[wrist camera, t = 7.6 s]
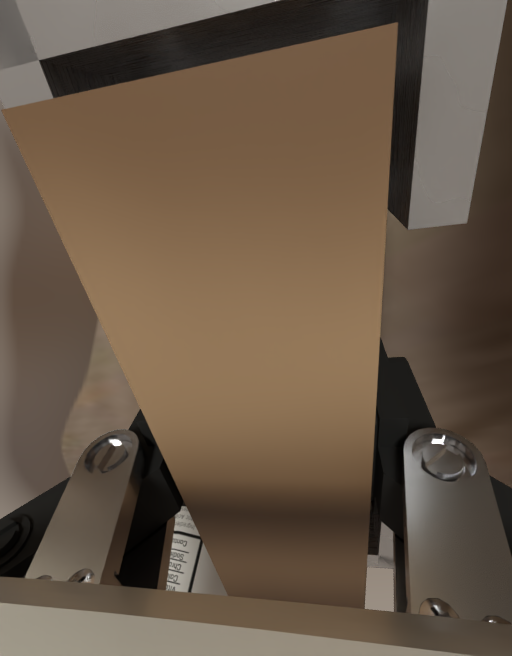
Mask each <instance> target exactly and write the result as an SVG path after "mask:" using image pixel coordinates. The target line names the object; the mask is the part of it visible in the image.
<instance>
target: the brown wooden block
mask: <svg viewBox="0 0 512 656" xmlns="http://www.w3.org/2000/svg"><path fill="white" fill-rule="evenodd" d="M397 31H398V22H396V23H392V24H387V25H383V26H378V27H374V28H369V29H365V30H360V31H356V32H351V33H347V34H342V35H338V36H333V37H328V38H324V39H319V40H315V41H310V42H306V43H301V44H297V45H292V46H288V47H283V48H279V49H274V50H270V51H265V52H261V53H256V54H252V55H247V56H243V57H238V58H233V59H229V60H224V61H220V62H215V63H211V64H206V65H202V66H197V67H193V68H188V69H184V70H179V71H175V72H170V73H166V74H161V75H157V76H152V77H148V78H143V79H139V80H134V81H129V82H125V83H120V84H116V85H111V86H107V87H102V88H98V89H93V90H89V91H84V92H80V93H75V94H71V95H66V96H62V97H57V98H53V99H48V100H44V101H39V102H35V103H30V104H25V105H21V106H16V107H12V108H7V109H3V110H2V113H3V115H4V117H5V119H6V121H7V124H8V126H9V128H10V130H11V132H12V134H13V137H14V138H15V141H16V143H17V145H18V147H19V149H20V151H21V154H22V156H23V158H24V160H25V162H26V164H27V167H28V169H29V171H30V173H31V175H32V177H33V179H34V181H35V184H36V186H37V187H38V190H39V192H40V194H41V196H42V199H43V201H44V203H45V205H46V207H47V209H48V211H49V214H50V216H51V218H52V220H53V222H54V224H55V226H56V228H57V231H58V233H59V235H60V237H61V239H62V241H63V243H64V246H65V248H66V250H67V252H68V254H69V256H70V258H71V261H72V263H73V265H74V267H75V269H76V271H77V274H78V276H79V277H80V280H81V282H82V284H83V286H84V288H85V290H86V293H87V295H88V297H89V299H90V301H91V303H92V305H93V308H94V310H95V312H96V314H97V316H98V318H99V321H100V323H101V325H102V327H103V329H104V331H105V333H106V336H107V338H108V340H109V342H110V344H111V346H112V348H113V351H114V353H115V355H116V357H117V359H118V361H119V363H120V366H121V368H122V370H123V372H124V374H125V376H126V378H127V381H128V383H129V385H130V387H131V389H132V391H133V393H134V396H135V398H136V400H137V402H138V404H139V406H140V408H141V411H142V413H143V415H144V417H145V419H146V421H147V423H148V426H149V428H150V430H151V432H152V434H153V436H154V438H155V440H156V443H157V445H158V447H159V449H160V451H161V453H162V455H163V458H164V460H165V462H166V464H167V466H168V468H169V470H170V473H171V475H172V477H173V479H174V481H175V483H176V485H177V488H178V490H179V492H180V494H181V496H182V498H183V500H184V503H185V505H186V507H187V509H188V511H189V513H190V515H191V518H192V520H193V522H194V524H195V526H196V528H197V530H198V533H199V535H200V537H201V539H202V541H203V543H204V545H205V548H206V550H207V552H208V554H209V556H210V558H211V560H212V562H213V565H214V567H215V569H216V571H217V573H218V575H219V577H220V580H221V582H222V584H223V586H224V588H225V590H226V592H227V595H228V596H234V597H244V598H255V599H266V600H276V601H287V602H298V603H308V604H318V605H328V606H339V607H349V608H359V609H365V608H364V607H365V590H366V574H367V573H366V572H367V556H368V539H369V521H370V504H371V486H372V469H373V451H374V434H375V416H376V399H377V381H378V364H379V346H380V329H381V311H382V294H383V276H384V259H385V241H386V224H387V206H388V189H389V171H390V154H391V136H392V119H393V101H394V84H395V66H396V49H397Z"/></svg>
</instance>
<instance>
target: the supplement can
mask: <svg viewBox="0 0 512 656" xmlns="http://www.w3.org/2000/svg"><path fill="white" fill-rule="evenodd" d="M166 590H169V591H179V592H190V593H201V594H212V595H223V596H228V595H227V592H226V590H225V588H224V586H223V584H222V582H221V580H220V577H219V575H218V573H217V571H216V569H215V567H214V565H213V562H212V560H211V558H210V556H209V554H208V552H207V550H206V548H205V545H204V543H203V541H202V539H201V537H200V535H199V533H198V530H197V528H196V526H195V524H194V522H193V520H192V518H191V515H190V513H189V511H188V509H187V507H185V506H182V508H181V511H180V512H179V513H177V514H176V515H175V526H174V534H173V541H172V549H171V556H170V563H169V571H168V578H167V585H166Z"/></svg>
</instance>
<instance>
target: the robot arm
mask: <svg viewBox="0 0 512 656" xmlns="http://www.w3.org/2000/svg"><path fill="white" fill-rule="evenodd" d="M371 503H372V509H373V514H378V515H379V519H380V521H381V522H383V523H384V524H385V525H386V526H387V527H388V528H389V529H391V530H392V531H393V566H394V612H389V611H379V610H369V609H359V608H349V607H339V606H328V605H318V604H308V603H298V602H287V601H276V600H266V599H255V598H244V597H234V596H223V595H212V594H201V593H190V592H179V591H169V590H166V585H167V578H168V571H169V563H170V556H171V549H172V541H173V534H174V526H175V515H176V514H177V513H179V512H180V511H181V508H182V506H185V507H186V505H185V503H184V500H183V498H182V496H181V494H180V492H179V490H178V488H177V485H176V483H175V481H174V479H173V477H172V475H171V473H170V470H169V468H168V466H167V464H166V462H165V460H164V458H163V455H162V453H161V451H160V449H159V447H158V445H157V443H156V440H155V438H154V436H153V434H152V432H151V430H150V428H149V426H148V423H147V421H146V419H145V417H144V415H143V413H142V411H141V409H140V410H139V412H138V414H137V416H136V417H135V419H134V421H133V423H132V424H131V426H130V428H129V430H126V429H120V430H114V431H111V432H108V433H106V434H104V435H102V436H100V437H98V438H97V439H96V440H94V441H93V442H91V443H90V444H89V446H88V447H87V448H86V449H85V450H84V451H83V453H82V455H81V456H80V458H79V460H78V462H77V464H76V467H75V469H74V471H73V473H72V475H71V477H69V478H67V479H66V480H64V481H62V482H61V483H59V484H58V485H56V486H54V487H53V488H51V489H49V490H48V491H46V492H45V493H43V494H41V495H39V496H38V497H36V498H35V499H33V500H31V501H29V502H28V503H26V504H24V505H23V506H21V507H20V508H18V509H16V510H15V511H13V512H12V513H10V514H8V515H6V516H5V517H3V518H2V519H0V656H512V488H510V487H508V486H507V485H505V484H503V483H502V482H500V481H498V480H496V479H495V478H493V477H491V476H490V475H489V473H488V469H487V466H486V462H485V460H484V458H483V456H482V454H481V452H480V451H479V450H478V449H477V448H476V447H475V446H474V444H473V443H471V442H470V441H468V440H467V439H466V438H464V437H463V436H461V435H459V434H456V433H454V432H452V431H449V430H445V429H441V428H436V426H435V424H434V421H433V419H432V417H431V414H430V412H429V410H428V408H427V405H426V403H425V401H424V398H423V396H422V394H421V391H420V389H419V387H418V384H417V382H416V380H415V377H414V375H413V373H412V370H411V368H410V366H409V363H408V361H407V360H406V358H405V357H393V358H388V357H387V354H386V352H385V349H384V346H383V343H382V340H381V337H380V346H379V364H378V381H377V399H376V416H375V434H374V451H373V469H372V486H371Z"/></svg>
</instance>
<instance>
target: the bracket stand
mask: <svg viewBox="0 0 512 656" xmlns="http://www.w3.org/2000/svg"><path fill="white" fill-rule="evenodd" d="M506 5H507V0H0V99H1V101H2V104H3V106H4V108H5V109H7V108H12V107H16V106H21V105H25V104H30V103H35V102H39V101H44V100H48V99H53V98H57V97H62V96H66V95H71V94H75V93H80V92H84V91H89V90H93V89H98V88H102V87H107V86H111V85H116V84H120V83H125V82H129V81H134V80H139V79H143V78H148V77H152V76H157V75H161V74H166V73H170V72H175V71H179V70H184V69H188V68H193V67H197V66H202V65H206V64H211V63H215V62H220V61H224V60H229V59H233V58H238V57H243V56H247V55H252V54H256V53H261V52H265V51H270V50H274V49H279V48H283V47H288V46H292V45H297V44H301V43H306V42H310V41H315V40H319V39H324V38H328V37H333V36H338V35H342V34H347V33H351V32H356V31H360V30H365V29H369V28H374V27H378V26H383V25H387V24H392V23H396V22H398V31H397V49H396V66H395V84H394V101H393V119H392V136H391V154H390V171H389V189H388V206H387V209H388V210H389V211H390V212H391V213H392V214H393V215H394V216H395V217H396V218H397V219H398V220H399V221H400V222H401V223H402V224H403V225H404V226H405V227H406V228H407V229H408V230H410V229H419V228H428V227H437V226H446V225H455V224H464V223H467V220H468V215H469V209H470V204H471V198H472V193H473V187H474V182H475V176H476V171H477V165H478V160H479V154H480V149H481V143H482V137H483V132H484V126H485V121H486V115H487V110H488V104H489V99H490V93H491V88H492V82H493V77H494V71H495V66H496V60H497V55H498V49H499V44H500V38H501V33H502V27H503V22H504V16H505V11H506ZM367 567H376V568H391V569H394V566H393V531H392V530H391V529H389V528H388V527H387V526H386V525H385V524H384V523H383V522H381V521H380V519H379V515H378V514H373V509H372V503H371V504H370V521H369V539H368V556H367Z"/></svg>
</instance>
